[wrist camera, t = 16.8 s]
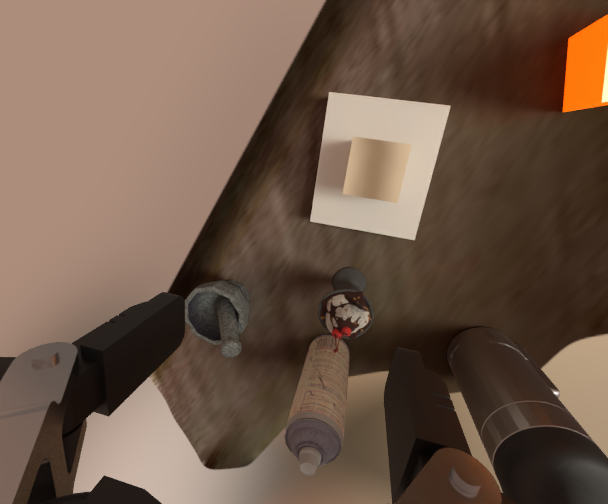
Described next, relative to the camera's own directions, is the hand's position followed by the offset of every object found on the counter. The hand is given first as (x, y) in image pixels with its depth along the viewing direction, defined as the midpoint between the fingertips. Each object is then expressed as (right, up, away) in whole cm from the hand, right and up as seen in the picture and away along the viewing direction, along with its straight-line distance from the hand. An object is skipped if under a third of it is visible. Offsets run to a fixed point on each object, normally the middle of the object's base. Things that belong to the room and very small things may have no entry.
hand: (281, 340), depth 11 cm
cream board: (+10, +15, +29) cm, 34 cm away
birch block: (+10, +14, +26) cm, 31 cm away
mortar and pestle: (-11, -5, +39) cm, 41 cm away
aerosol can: (+5, -13, +39) cm, 41 cm away
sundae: (+8, -1, +34) cm, 35 cm away
